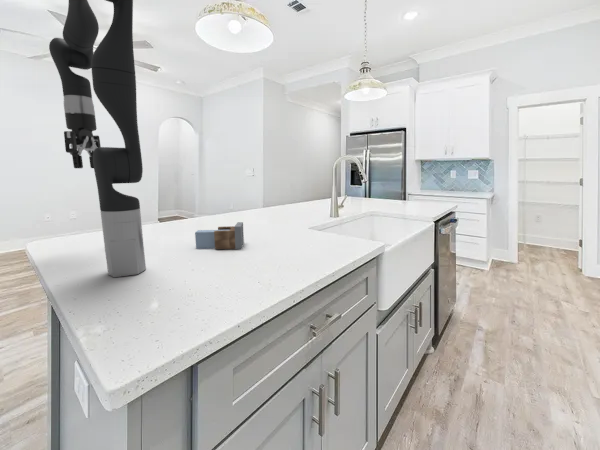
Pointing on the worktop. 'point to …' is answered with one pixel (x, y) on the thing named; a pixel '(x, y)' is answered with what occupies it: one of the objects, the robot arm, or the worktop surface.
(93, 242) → the worktop surface
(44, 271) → the worktop surface
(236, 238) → the wall
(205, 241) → the peg
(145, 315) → the worktop surface
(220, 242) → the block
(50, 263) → the worktop surface
